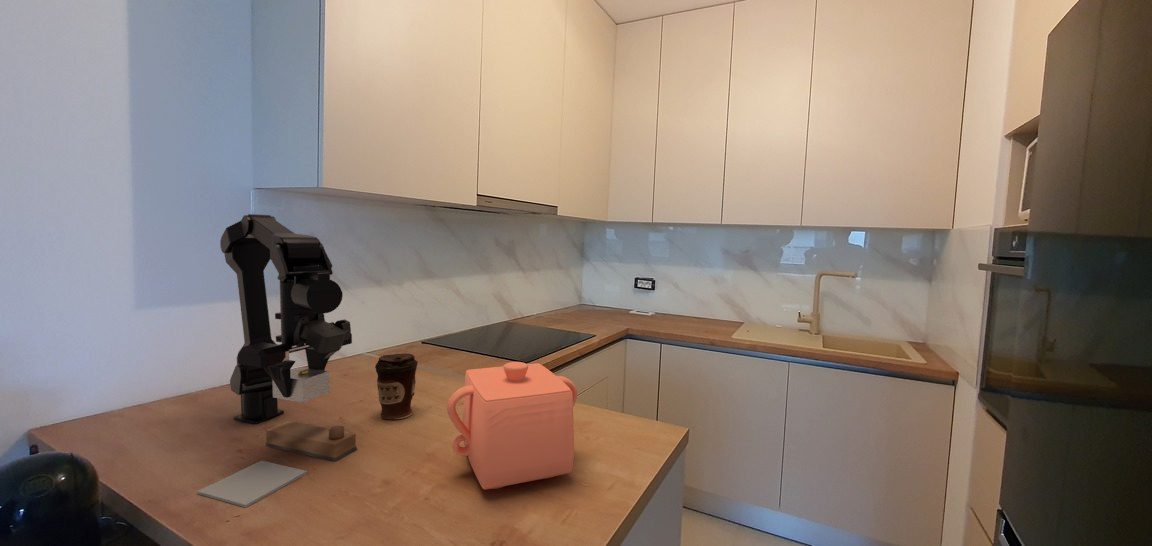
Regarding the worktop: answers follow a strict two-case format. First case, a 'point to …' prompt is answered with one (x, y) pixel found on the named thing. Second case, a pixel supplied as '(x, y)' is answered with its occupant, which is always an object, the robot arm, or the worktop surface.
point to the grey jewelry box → (305, 384)
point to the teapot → (515, 423)
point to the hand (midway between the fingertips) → (301, 391)
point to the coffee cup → (396, 384)
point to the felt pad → (252, 483)
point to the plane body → (312, 440)
